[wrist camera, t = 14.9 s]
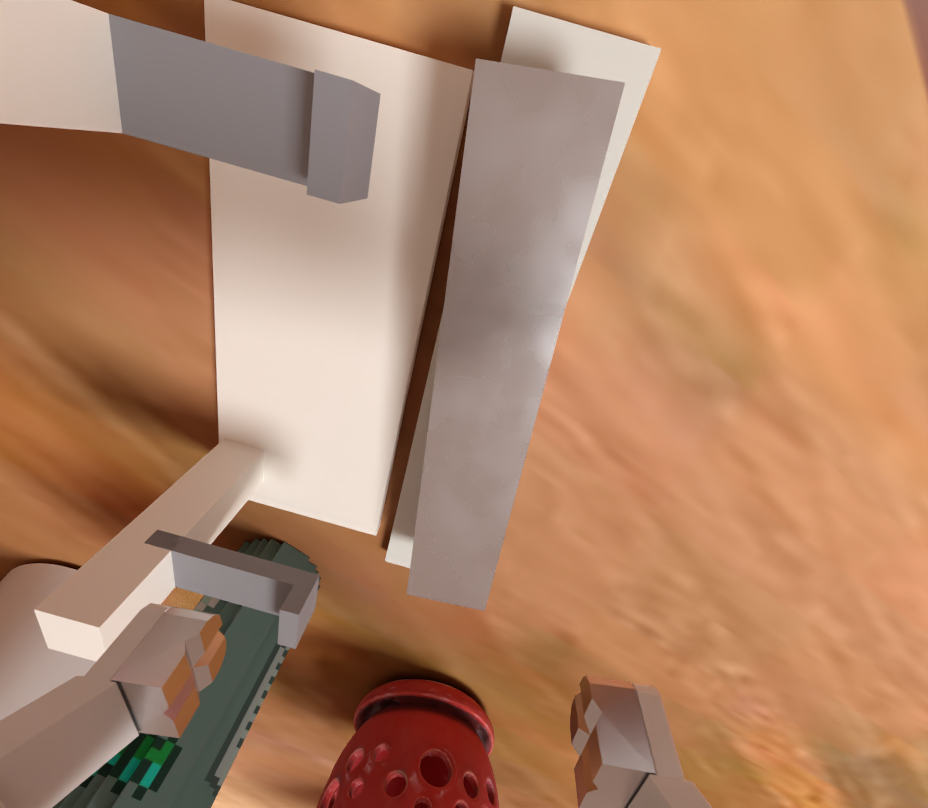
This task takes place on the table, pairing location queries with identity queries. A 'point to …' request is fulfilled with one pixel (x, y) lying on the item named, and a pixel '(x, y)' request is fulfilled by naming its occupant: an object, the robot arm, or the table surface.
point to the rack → (262, 273)
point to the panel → (617, 60)
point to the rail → (503, 309)
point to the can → (201, 714)
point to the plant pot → (415, 751)
